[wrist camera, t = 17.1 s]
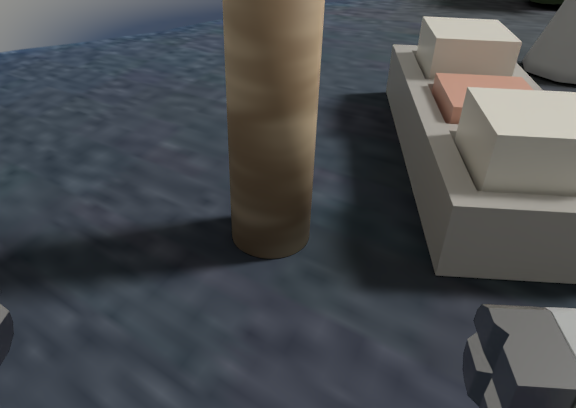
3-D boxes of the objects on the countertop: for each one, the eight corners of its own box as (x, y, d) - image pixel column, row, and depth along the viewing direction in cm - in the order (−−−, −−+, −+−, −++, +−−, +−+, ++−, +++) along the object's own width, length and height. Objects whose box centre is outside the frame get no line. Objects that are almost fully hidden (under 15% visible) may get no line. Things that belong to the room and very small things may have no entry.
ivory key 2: (480, 195, 21) (497, 134, 20) (454, 140, 25) (467, 86, 24) (602, 202, 21) (629, 141, 20) (556, 146, 25) (576, 92, 24)
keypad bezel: (435, 275, 22) (453, 206, 20) (386, 91, 39) (392, 44, 37) (625, 286, 22) (663, 218, 20) (491, 96, 39) (504, 49, 37)
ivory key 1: (428, 83, 32) (436, 37, 30) (416, 57, 36) (422, 16, 34) (509, 87, 32) (521, 42, 30) (487, 61, 36) (498, 19, 34)
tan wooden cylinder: (226, 256, 23) (209, -80, 15) (238, 209, 26) (228, -91, 18) (308, 261, 22) (330, -76, 15) (309, 213, 25) (329, -87, 18)
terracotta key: (442, 155, 27) (453, 107, 26) (427, 116, 32) (435, 72, 30) (536, 160, 27) (553, 112, 26) (508, 120, 31) (521, 77, 30)
